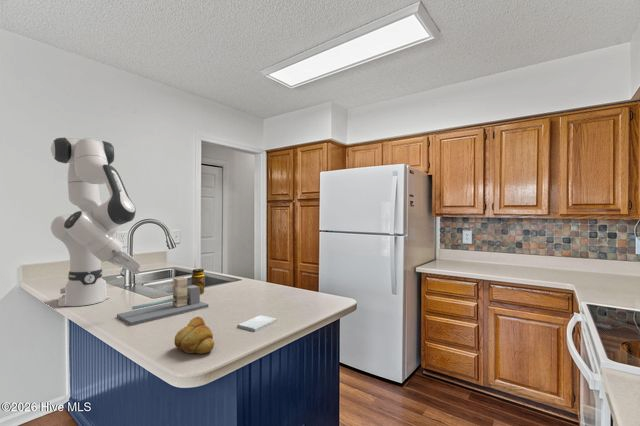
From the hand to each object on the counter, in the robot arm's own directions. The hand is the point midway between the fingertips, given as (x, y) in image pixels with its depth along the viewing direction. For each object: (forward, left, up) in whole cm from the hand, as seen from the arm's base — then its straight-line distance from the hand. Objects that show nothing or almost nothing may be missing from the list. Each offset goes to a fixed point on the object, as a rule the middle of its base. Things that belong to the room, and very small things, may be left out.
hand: (137, 272), depth 122 cm
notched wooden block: (+3, +15, -15) cm, 22 cm away
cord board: (+3, +9, -17) cm, 19 cm away
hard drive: (+42, +25, -17) cm, 52 cm away
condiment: (-15, +32, -17) cm, 39 cm away
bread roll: (+45, 0, -17) cm, 48 cm away
